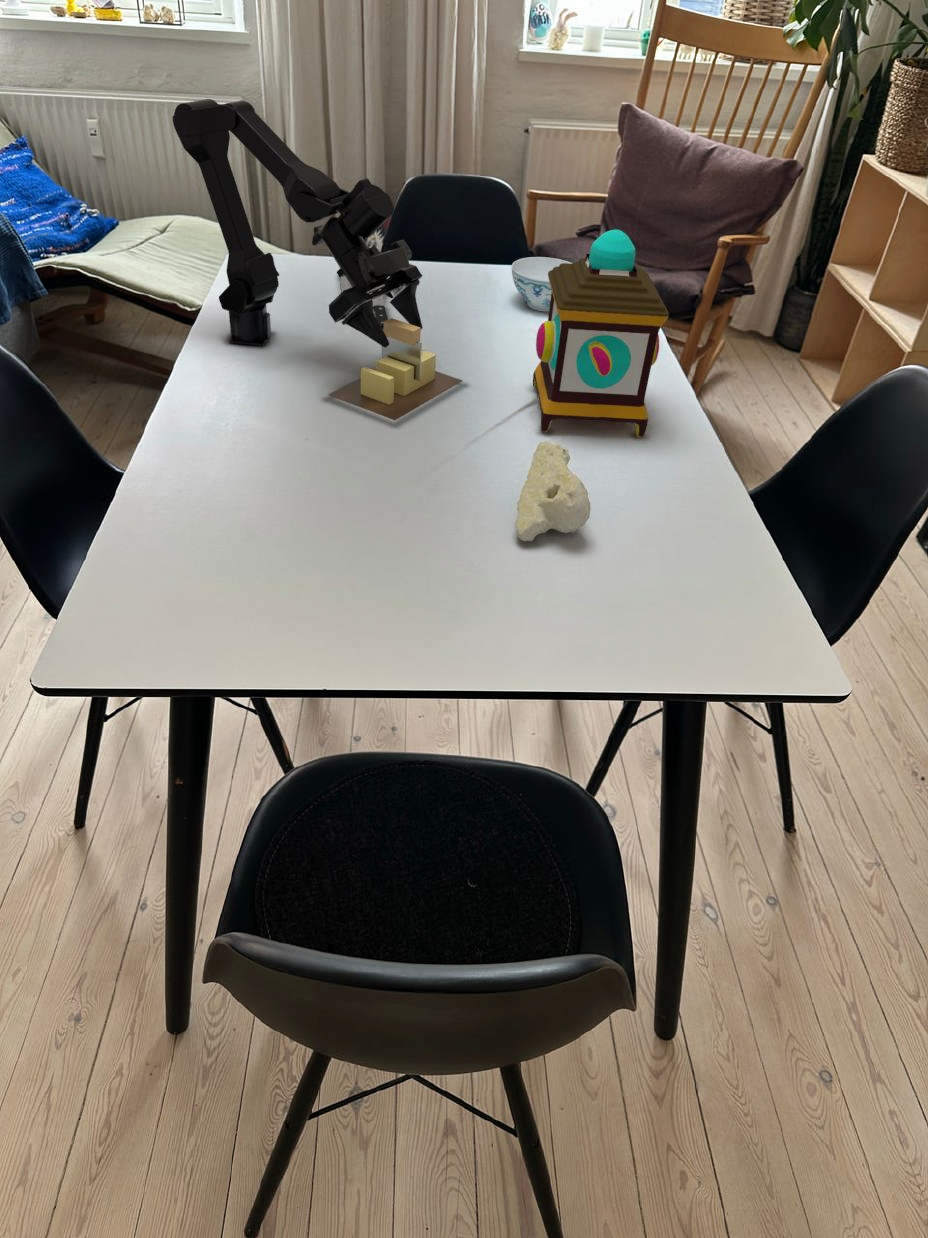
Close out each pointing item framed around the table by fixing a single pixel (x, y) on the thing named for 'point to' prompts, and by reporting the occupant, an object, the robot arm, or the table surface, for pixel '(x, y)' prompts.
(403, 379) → the butter block
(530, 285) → the chinaware
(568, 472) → the cream rough rock
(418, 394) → the board
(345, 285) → the cleaver
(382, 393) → the butter slice
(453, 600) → the table surface
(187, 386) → the table surface
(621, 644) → the table surface
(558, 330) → the decorative lantern
